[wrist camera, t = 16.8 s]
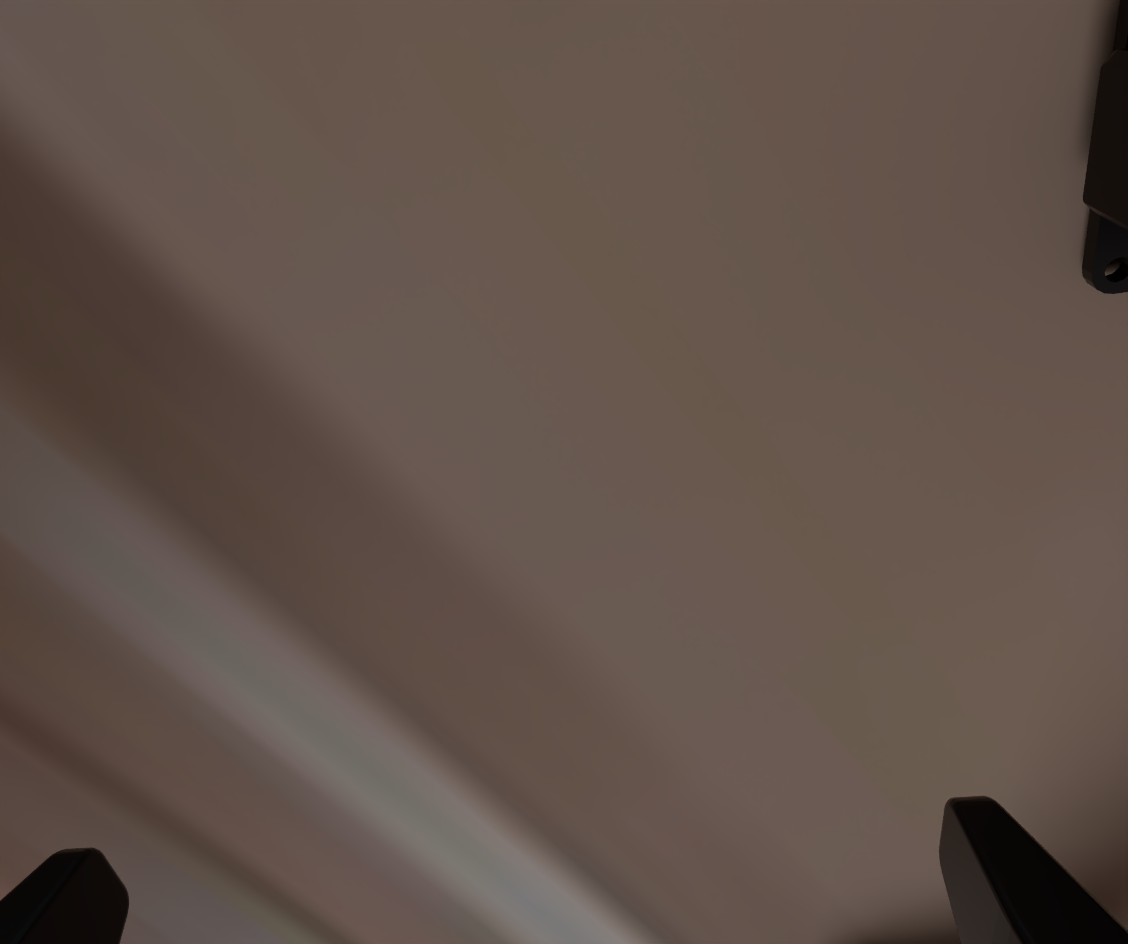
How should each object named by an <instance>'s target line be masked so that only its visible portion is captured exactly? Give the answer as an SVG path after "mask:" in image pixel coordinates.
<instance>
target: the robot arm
mask: <svg viewBox="0 0 1128 944" xmlns="http://www.w3.org/2000/svg"><path fill="white" fill-rule="evenodd" d="M1083 201H1084V203H1085V204H1086V205H1087V206H1088V207H1089V208H1090V215H1089V222H1088V229H1087V236H1086V243H1085V250H1084V257H1083V264H1082V274H1083V277H1084V279H1085V280H1086V282H1087V283H1088V284H1090V285H1091V286H1093V287H1094V288H1095V289H1097V290H1099V291H1101V292H1103V293H1108V294H1116V293H1123V292H1128V0H1120V7H1119V14H1118V21H1117V28H1116V35H1115V41H1114V48H1113V52H1112V54H1111V55H1110V56H1109V57H1108V59H1107V60H1106V61H1105V63H1104V64H1103V65H1102V67H1101V70H1100V77H1099V85H1098V92H1097V99H1096V106H1095V114H1094V121H1093V128H1092V135H1091V142H1090V150H1089V157H1088V164H1087V171H1086V179H1085V186H1084V193H1083ZM1119 257H1121V259H1122V262H1121V264H1120V267H1119V268H1118V269H1117V270H1116V271H1115V272H1114V273H1112V274H1109V275H1107V276H1105V269H1106V267H1107V265H1108V264H1109V263H1110V262H1111V261H1112V260H1114V259H1117V258H1119ZM939 858H940V865H941V870H942V874H943V878H944V882H945V885H946V889H947V893H948V897H949V900H950V904H951V908H952V911H953V915H954V919H955V923H956V926H957V930H958V934H959V937H960V941H961V944H1128V931H1127V930H1126V929H1125V928H1124V927H1123V926H1122V925H1121V924H1120V923H1119V922H1118V921H1117V920H1116V919H1115V918H1114V917H1113V916H1112V915H1111V914H1110V913H1109V912H1108V911H1107V910H1106V909H1105V908H1104V907H1103V906H1102V905H1101V904H1100V903H1099V902H1098V901H1097V900H1096V899H1095V898H1094V897H1093V896H1092V895H1091V894H1090V893H1089V892H1088V891H1087V890H1086V889H1085V888H1084V887H1083V886H1082V885H1081V884H1080V883H1079V882H1078V881H1077V880H1076V879H1075V878H1074V877H1073V876H1072V875H1071V874H1070V873H1069V872H1068V871H1067V870H1066V869H1065V868H1064V867H1063V866H1062V865H1061V864H1059V863H1058V862H1057V861H1056V860H1055V859H1054V858H1053V857H1052V856H1051V855H1050V854H1049V853H1048V852H1047V851H1046V850H1045V849H1044V848H1043V847H1042V846H1041V845H1040V844H1039V843H1038V842H1037V841H1036V840H1035V839H1034V838H1033V837H1032V836H1031V835H1030V834H1029V833H1028V832H1027V831H1026V830H1025V829H1024V828H1023V827H1022V826H1021V825H1020V824H1019V823H1018V822H1017V821H1016V820H1015V819H1014V818H1013V817H1012V816H1011V815H1010V814H1009V813H1008V812H1007V811H1006V810H1005V809H1004V808H1003V807H1002V806H1001V805H1000V804H999V803H998V802H996V801H995V800H993V799H991V798H989V797H986V796H973V797H955V798H950V799H949V800H948V801H947V802H946V805H945V809H944V816H943V823H942V831H941V838H940V845H939ZM128 908H129V896H128V892H127V889H126V887H125V886H124V884H123V883H122V881H121V880H120V878H119V877H118V875H117V874H116V872H115V871H114V869H113V868H112V866H111V865H110V863H109V862H108V860H107V859H106V858H105V856H104V855H103V853H102V852H101V851H100V850H98V849H95V848H75V849H65V850H61V851H58V852H56V853H55V854H53V855H52V856H50V857H49V858H48V859H47V860H45V861H44V862H43V863H42V864H41V865H40V866H39V867H38V868H36V869H35V870H34V871H33V872H32V873H31V874H30V875H29V876H27V877H26V878H25V879H24V880H23V881H22V882H21V883H20V884H18V885H17V886H16V887H15V888H14V889H13V890H12V891H11V892H9V893H8V894H7V895H6V896H5V897H4V898H3V899H2V900H1V901H0V944H120V940H121V936H122V933H123V929H124V926H125V922H126V918H127V914H128Z"/></svg>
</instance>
